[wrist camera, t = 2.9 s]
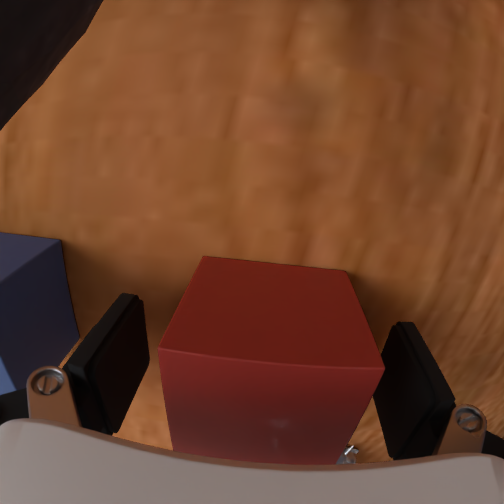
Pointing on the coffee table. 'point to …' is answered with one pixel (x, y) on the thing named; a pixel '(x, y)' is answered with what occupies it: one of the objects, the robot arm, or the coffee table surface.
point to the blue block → (32, 308)
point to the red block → (267, 363)
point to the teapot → (36, 44)
